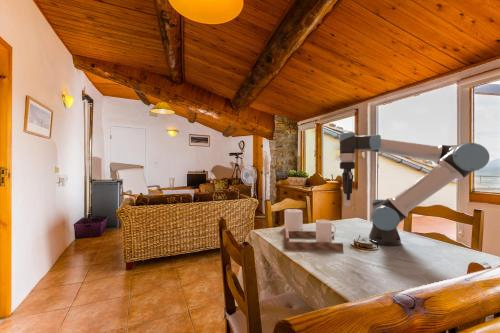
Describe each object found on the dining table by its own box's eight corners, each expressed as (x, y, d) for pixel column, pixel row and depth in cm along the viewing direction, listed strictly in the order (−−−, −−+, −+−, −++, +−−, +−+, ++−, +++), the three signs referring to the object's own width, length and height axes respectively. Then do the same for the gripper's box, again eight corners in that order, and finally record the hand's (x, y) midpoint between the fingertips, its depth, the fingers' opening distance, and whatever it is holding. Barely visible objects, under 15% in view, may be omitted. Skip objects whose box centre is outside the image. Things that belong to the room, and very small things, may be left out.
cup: (284, 230, 152) (284, 212, 152) (284, 226, 164) (284, 208, 163) (303, 231, 150) (303, 212, 150) (302, 226, 162) (302, 209, 161)
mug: (331, 239, 134) (331, 218, 133) (340, 244, 125) (340, 222, 125) (312, 241, 131) (312, 219, 131) (320, 246, 123) (320, 223, 122)
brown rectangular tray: (333, 237, 138) (333, 228, 138) (343, 250, 117) (343, 240, 117) (284, 235, 141) (284, 227, 141) (285, 248, 120) (285, 238, 120)
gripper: (336, 161, 133) (337, 203, 134) (343, 161, 120) (343, 208, 120) (350, 161, 132) (351, 203, 133) (359, 161, 119) (359, 208, 119)
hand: (347, 205), depth 126 cm, fingers closed
